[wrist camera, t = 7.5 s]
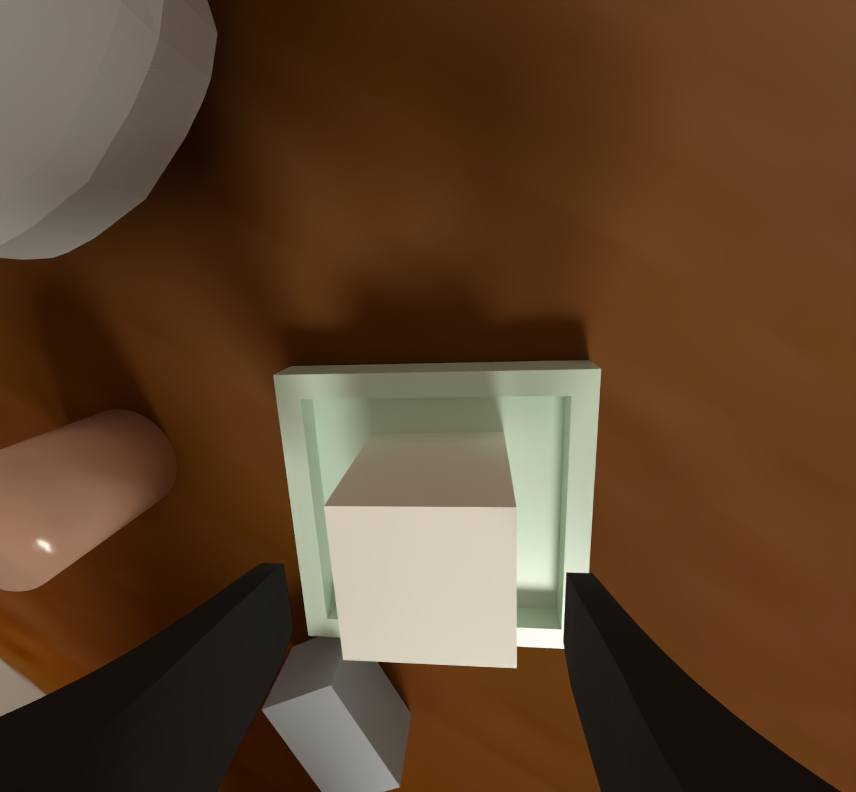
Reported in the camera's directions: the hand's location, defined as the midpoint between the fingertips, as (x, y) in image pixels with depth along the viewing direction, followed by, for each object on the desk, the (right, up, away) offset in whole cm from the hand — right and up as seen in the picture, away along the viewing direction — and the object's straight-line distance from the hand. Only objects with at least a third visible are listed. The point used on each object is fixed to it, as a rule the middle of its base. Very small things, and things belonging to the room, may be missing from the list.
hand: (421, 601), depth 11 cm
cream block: (+1, +2, +4) cm, 5 cm away
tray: (+1, +1, +5) cm, 5 cm away
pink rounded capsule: (-11, +3, +6) cm, 13 cm away
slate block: (-3, -7, +8) cm, 11 cm away
